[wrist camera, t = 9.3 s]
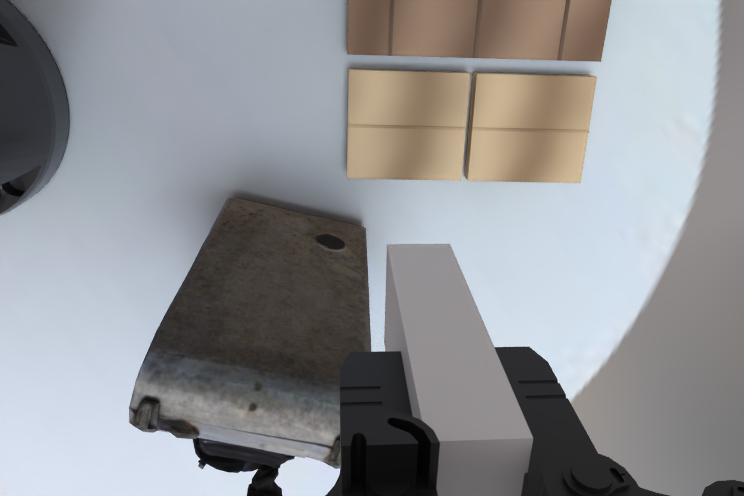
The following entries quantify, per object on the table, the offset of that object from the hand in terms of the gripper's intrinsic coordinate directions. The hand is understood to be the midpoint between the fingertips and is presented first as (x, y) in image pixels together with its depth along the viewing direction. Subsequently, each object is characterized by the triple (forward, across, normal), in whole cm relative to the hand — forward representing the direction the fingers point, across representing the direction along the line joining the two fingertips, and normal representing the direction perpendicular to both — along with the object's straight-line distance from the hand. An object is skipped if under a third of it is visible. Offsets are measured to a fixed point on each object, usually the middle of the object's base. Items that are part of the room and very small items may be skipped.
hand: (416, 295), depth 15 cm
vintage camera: (+25, -6, -14) cm, 30 cm away
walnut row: (+25, +6, +6) cm, 26 cm away
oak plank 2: (+24, +10, -2) cm, 26 cm away
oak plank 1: (+25, +3, -2) cm, 25 cm away
